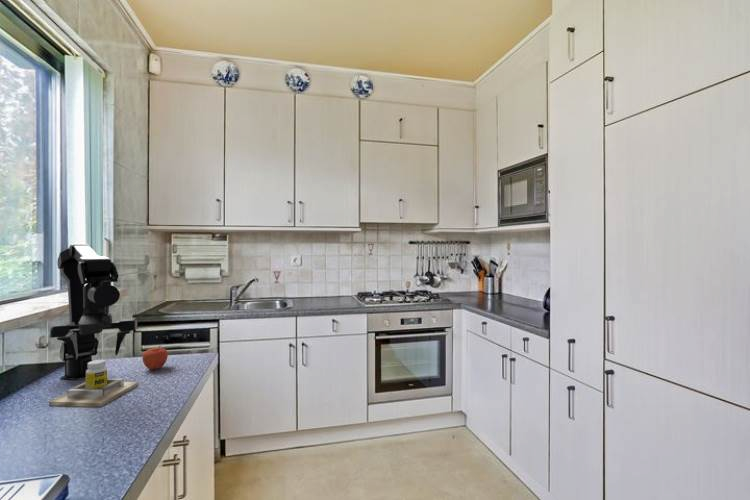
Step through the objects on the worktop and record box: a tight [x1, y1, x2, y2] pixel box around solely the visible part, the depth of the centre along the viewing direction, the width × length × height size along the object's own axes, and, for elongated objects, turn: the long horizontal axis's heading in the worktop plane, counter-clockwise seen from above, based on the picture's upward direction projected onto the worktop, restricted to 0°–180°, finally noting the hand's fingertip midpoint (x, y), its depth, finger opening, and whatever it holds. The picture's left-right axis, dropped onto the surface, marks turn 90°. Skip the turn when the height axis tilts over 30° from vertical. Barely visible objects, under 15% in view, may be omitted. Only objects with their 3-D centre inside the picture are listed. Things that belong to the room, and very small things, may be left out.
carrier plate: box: [48, 377, 139, 408], centre depth 101 cm, size 14×14×3 cm
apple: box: [142, 346, 169, 371], centre depth 121 cm, size 7×7×8 cm
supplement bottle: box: [85, 359, 108, 389], centre depth 101 cm, size 5×5×8 cm
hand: (96, 357), depth 100 cm, fingers open, 9 cm apart
